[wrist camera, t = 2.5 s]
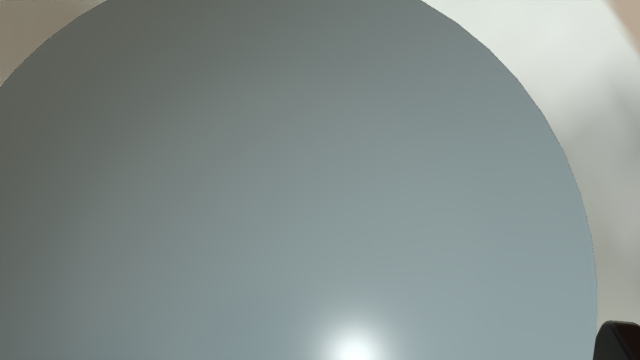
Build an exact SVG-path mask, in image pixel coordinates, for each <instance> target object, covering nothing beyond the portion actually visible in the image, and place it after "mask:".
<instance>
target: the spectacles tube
mask: <svg viewBox="0 0 640 360" xmlns="http://www.w3.org/2000/svg"><path fill="white" fill-rule="evenodd" d="M596 332H597V276H596V267H595V259H594V251H593V243H592V236H591V232H590V228H589V224H588V220H587V216H586V212H585V208H584V204H583V201H582V197H581V193H580V190H579V188H578V185H577V183H576V180H575V178H574V175H573V173H572V170H571V168H570V165H569V163H568V160H567V158H566V155H565V153H564V151H563V149H562V147H561V145H560V143H559V142H558V140H557V138H556V136H555V134H554V133H553V131H552V129H551V127H550V125H549V124H548V122H547V120H546V118H545V116H544V115H543V113H542V112H541V110H540V109H539V108H538V106H537V105H536V104H535V102H534V101H533V99H532V98H531V97H530V95H529V94H528V93H527V91H526V90H525V89H524V87H523V86H522V85H521V83H520V82H519V80H518V79H517V78H516V77H515V76H514V75H513V74H512V73H511V72H510V71H509V70H508V69H507V68H506V67H505V65H504V64H503V63H502V62H501V61H500V60H499V59H498V58H497V57H496V56H495V55H494V54H493V53H492V52H491V51H490V50H489V49H488V48H487V47H486V46H485V45H483V44H482V43H481V42H480V41H478V40H477V39H476V38H475V37H474V36H472V35H471V34H470V33H469V32H467V31H466V30H465V29H464V28H463V27H461V26H460V25H459V24H458V23H456V22H455V21H453V20H452V19H450V18H448V17H447V16H445V15H444V14H442V13H440V12H439V11H437V10H436V9H434V8H432V7H431V6H429V5H428V4H426V3H425V2H423V1H421V0H107V1H105V2H103V3H102V4H100V5H98V6H97V7H95V8H93V9H91V10H90V11H88V12H86V13H84V14H83V15H81V16H79V17H78V18H76V19H75V20H74V21H72V22H71V23H69V24H68V25H67V26H65V27H64V28H63V29H61V30H60V31H59V32H57V33H56V34H55V35H53V36H52V37H51V38H49V39H48V40H47V41H45V42H44V43H43V44H42V45H41V46H40V47H39V48H38V49H37V50H36V51H35V52H34V53H32V54H31V55H30V56H29V57H28V58H27V59H26V60H25V61H24V62H23V63H22V64H21V65H20V66H19V67H18V68H17V69H15V71H14V72H13V73H12V74H11V75H10V77H9V78H8V79H7V80H6V81H5V82H4V84H3V85H2V86H1V87H0V360H593V353H594V346H595V339H596Z"/></svg>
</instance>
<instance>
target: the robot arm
mask: <svg viewBox="0 0 640 360" xmlns="http://www.w3.org/2000/svg"><path fill="white" fill-rule="evenodd" d="M593 360H640V326H639V325H638V324H636V323H633V322H624V321H612V320H610V321H606V322H605V323H603V325H602V326H601V328H600V330H599V332H598V334H597V336H596V339H595V346H594V353H593Z"/></svg>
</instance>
